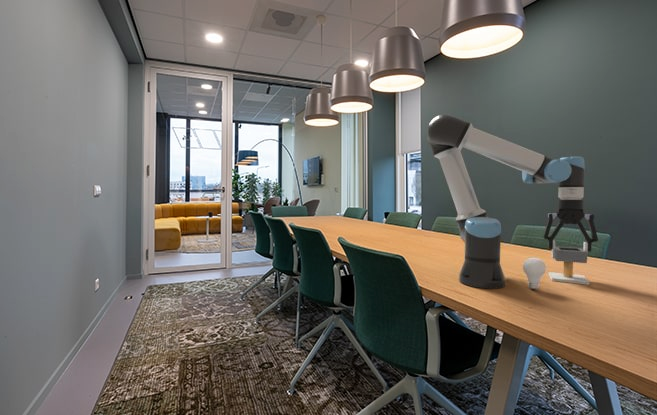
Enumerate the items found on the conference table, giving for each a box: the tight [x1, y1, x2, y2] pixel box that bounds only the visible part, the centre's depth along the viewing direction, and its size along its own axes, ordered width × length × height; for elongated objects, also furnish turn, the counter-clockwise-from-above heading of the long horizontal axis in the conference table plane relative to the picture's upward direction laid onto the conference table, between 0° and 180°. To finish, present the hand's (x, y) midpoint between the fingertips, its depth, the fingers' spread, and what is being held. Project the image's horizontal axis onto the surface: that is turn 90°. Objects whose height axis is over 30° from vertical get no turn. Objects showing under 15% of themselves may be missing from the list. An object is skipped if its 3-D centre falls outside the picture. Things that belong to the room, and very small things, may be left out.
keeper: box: [548, 261, 590, 285], centre depth 122 cm, size 11×10×8 cm
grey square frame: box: [554, 245, 588, 264], centre depth 121 cm, size 9×9×4 cm
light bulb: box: [522, 257, 547, 291], centre depth 109 cm, size 7×7×11 cm
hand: (568, 258), depth 122 cm, fingers closed on grey square frame, 9 cm apart
